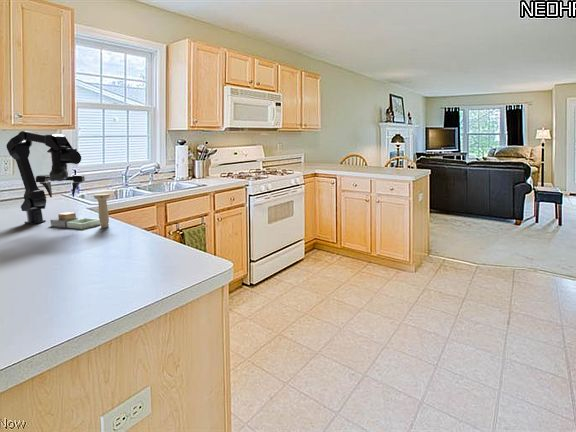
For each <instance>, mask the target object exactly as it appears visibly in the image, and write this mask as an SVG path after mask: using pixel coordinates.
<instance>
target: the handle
mask: <svg viewBox="0 0 576 432" xmlns="http://www.w3.org/2000/svg"><path fill="white" fill-rule="evenodd" d="M93 198H94V199H96V200H97V203H98V219H99V220H100V224H101V225H100V228H105V229H106V228H109V225H110V223H109V222H110V221H109V220H110V219H109V210H108V204H107V200H108V199H109V198H111V197H110V193H95V194H93Z"/></svg>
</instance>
